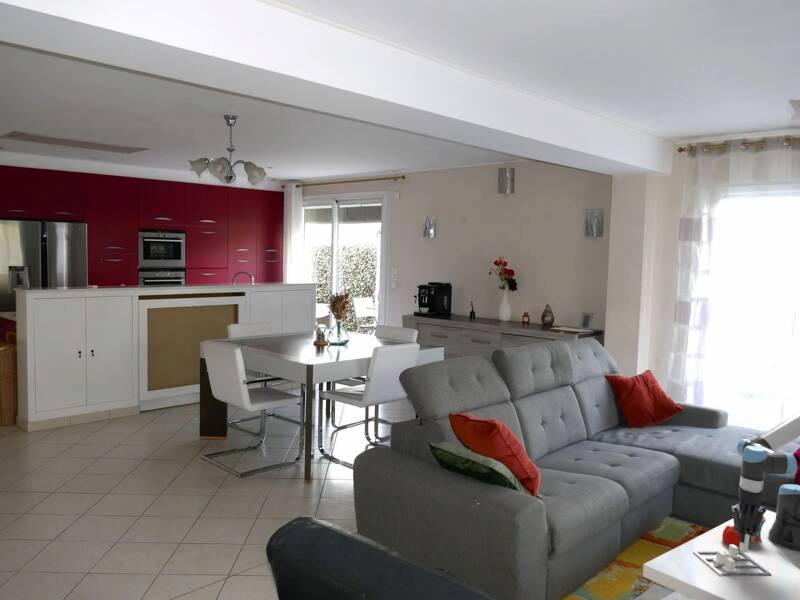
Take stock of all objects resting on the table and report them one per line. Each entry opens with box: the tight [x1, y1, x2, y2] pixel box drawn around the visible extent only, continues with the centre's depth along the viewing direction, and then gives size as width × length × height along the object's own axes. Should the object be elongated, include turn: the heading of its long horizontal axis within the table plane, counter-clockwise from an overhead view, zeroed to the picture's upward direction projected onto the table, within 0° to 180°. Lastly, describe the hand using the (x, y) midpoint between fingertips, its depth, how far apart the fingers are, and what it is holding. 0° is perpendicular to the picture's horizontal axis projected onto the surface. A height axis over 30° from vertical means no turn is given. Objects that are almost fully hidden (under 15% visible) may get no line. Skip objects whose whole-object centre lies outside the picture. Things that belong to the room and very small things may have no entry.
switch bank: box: [692, 550, 772, 577], centre depth 230 cm, size 20×16×2 cm
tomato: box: [721, 525, 740, 549], centre depth 247 cm, size 9×9×8 cm
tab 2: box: [724, 544, 742, 558], centre depth 236 cm, size 4×3×4 cm
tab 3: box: [720, 557, 739, 573], centre depth 225 cm, size 4×3×4 cm
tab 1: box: [712, 550, 727, 565], centre depth 230 cm, size 4×3×4 cm
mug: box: [740, 514, 767, 544], centre depth 254 cm, size 12×9×11 cm
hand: (743, 550), depth 236 cm, fingers closed
